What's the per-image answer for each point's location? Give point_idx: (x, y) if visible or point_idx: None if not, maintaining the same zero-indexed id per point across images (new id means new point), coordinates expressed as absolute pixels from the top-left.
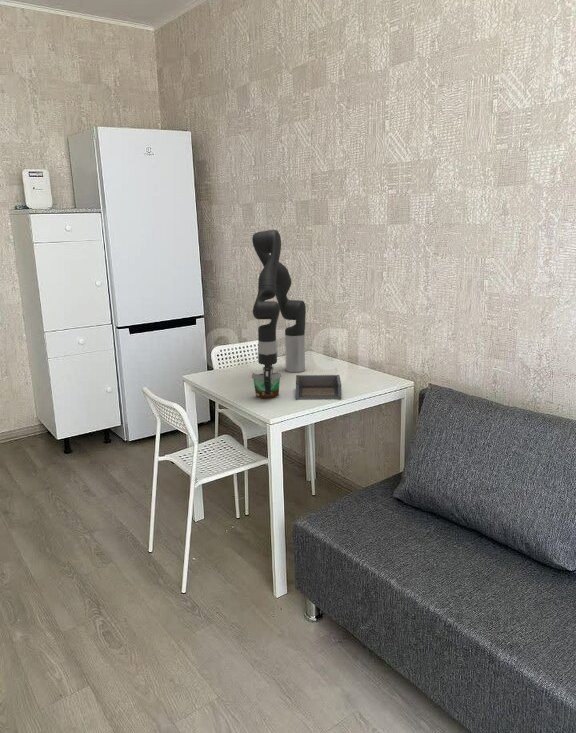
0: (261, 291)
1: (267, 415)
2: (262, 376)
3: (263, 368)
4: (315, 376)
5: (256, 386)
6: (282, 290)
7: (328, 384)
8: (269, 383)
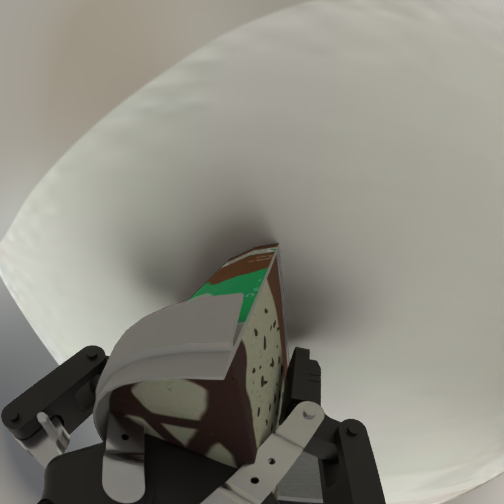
0: None
1: (7, 250)
2: (101, 405)
3: (114, 500)
4: None
5: (209, 286)
6: None
7: (289, 502)
8: (86, 383)
